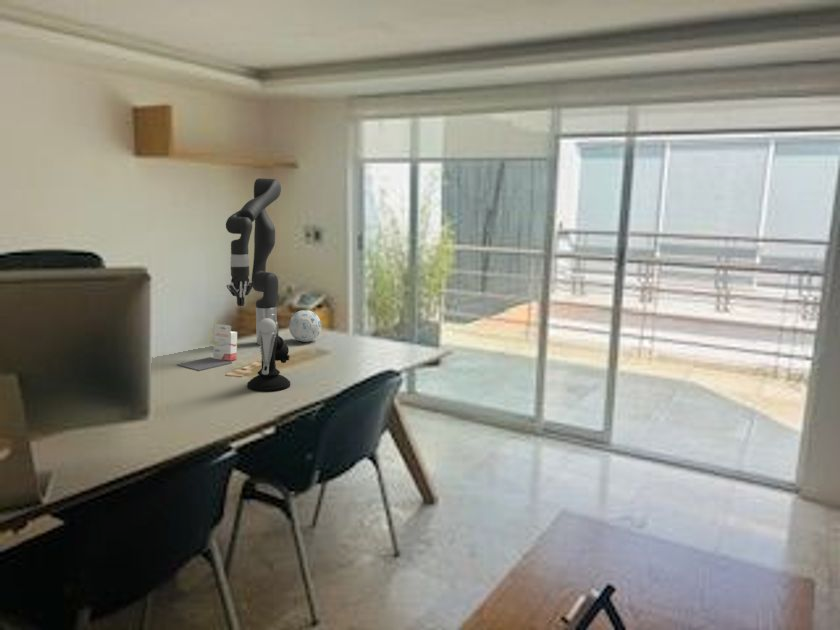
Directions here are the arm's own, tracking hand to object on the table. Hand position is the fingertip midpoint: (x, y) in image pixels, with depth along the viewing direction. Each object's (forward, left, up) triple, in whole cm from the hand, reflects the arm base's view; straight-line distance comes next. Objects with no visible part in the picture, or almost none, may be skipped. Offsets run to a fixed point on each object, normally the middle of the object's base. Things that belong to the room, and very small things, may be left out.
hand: (240, 305), depth 278 cm
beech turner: (+15, +20, -22) cm, 33 cm away
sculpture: (+20, +41, -22) cm, 51 cm away
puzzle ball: (-38, 0, -22) cm, 44 cm away
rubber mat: (+19, 0, -22) cm, 29 cm away
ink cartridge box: (+9, 0, -22) cm, 23 cm away
